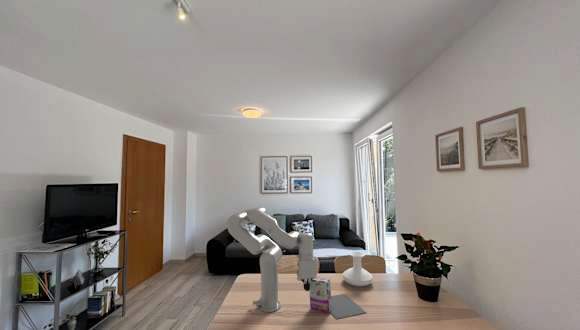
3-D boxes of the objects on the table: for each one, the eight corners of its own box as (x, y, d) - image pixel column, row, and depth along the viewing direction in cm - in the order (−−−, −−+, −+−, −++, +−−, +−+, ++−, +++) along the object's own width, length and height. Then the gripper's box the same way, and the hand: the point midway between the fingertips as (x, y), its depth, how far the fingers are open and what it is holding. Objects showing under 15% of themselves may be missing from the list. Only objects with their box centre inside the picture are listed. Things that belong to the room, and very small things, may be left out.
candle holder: (340, 276, 179) (340, 249, 180) (368, 276, 178) (367, 250, 179) (345, 289, 159) (345, 259, 160) (376, 289, 158) (376, 259, 159)
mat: (336, 319, 126) (336, 318, 126) (318, 298, 146) (318, 298, 146) (366, 313, 131) (366, 312, 131) (344, 294, 152) (344, 293, 152)
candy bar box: (332, 308, 135) (330, 278, 135) (329, 313, 130) (327, 282, 131) (313, 304, 140) (311, 275, 140) (310, 309, 135) (308, 279, 136)
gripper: (295, 259, 128) (296, 295, 127) (321, 256, 132) (322, 291, 132) (291, 255, 135) (291, 289, 134) (316, 252, 140) (316, 285, 139)
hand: (306, 290), depth 133 cm, fingers closed
